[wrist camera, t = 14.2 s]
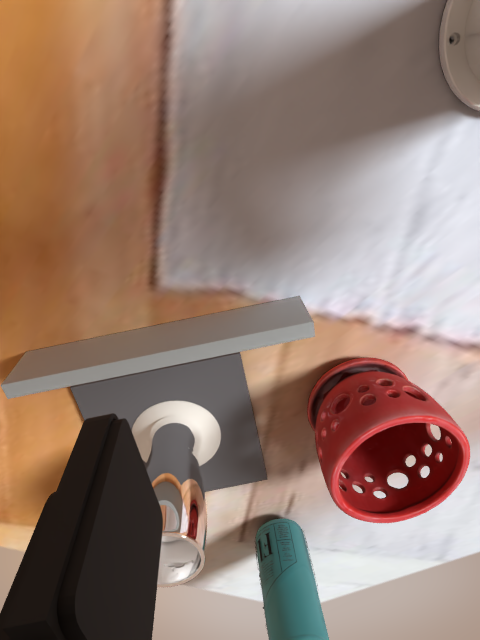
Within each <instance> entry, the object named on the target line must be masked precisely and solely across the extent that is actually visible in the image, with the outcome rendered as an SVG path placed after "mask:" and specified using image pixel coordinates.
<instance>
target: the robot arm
mask: <svg viewBox="0 0 480 640" xmlns="http://www.w3.org/2000/svg"><path fill="white" fill-rule="evenodd" d="M449 38H451V40H452V41H451V43H449ZM439 53H440V61H441V66H442V69H443V73H444V76H445V79H446V81H447V83H448V84H449V86H450V88H451V90H452V92H453V93H454V94H455V95H456V96H457V97H458V98H459V99H460V101H462V102H463V103H464V104H466V105H467V106H469V107H470V108H472V109H474V110H477V111H480V0H448V1H447V3H446V6H445V9H444V12H443V17H442V21H441V26H440V36H439ZM162 531H163V516H162V511H161V507H160V505H159V502H158V499H157V497H156V494H155V491H154V489H153V486H152V484H151V481H150V478H149V476H148V473H147V470H146V468H145V465H144V462H143V460H142V457H141V455H140V452H139V449H138V447H137V444H136V441H135V439H134V436H133V434H132V431H131V428H130V426H129V423H128V421H127V420H126V419H125V418H123V419H118V417H117V415H116V414H114V413H112V414H107V415H102V416H97V417H92V418H88V419H86V420H85V421H84V423H83V425H82V428H81V430H80V433H79V435H78V438H77V440H76V443H75V446H74V448H73V451H72V453H71V456H70V458H69V461H68V463H67V466H66V468H65V471H64V473H63V476H62V478H61V481H60V484H59V486H58V489H57V491H56V492H54V493H53V494H51V495H50V496H49V498H48V500H47V502H46V503H45V506H44V508H43V511H42V513H41V515H40V518H39V520H38V523H37V525H36V528H35V530H34V533H33V535H32V537H31V540H30V542H29V545H28V547H27V550H26V552H25V554H24V557H23V559H22V562H21V564H20V567H19V569H18V572H17V574H16V577H15V579H14V581H13V584H12V586H11V589H10V591H9V594H8V596H7V598H6V601H5V603H4V606H3V608H2V611H1V613H0V640H152V631H153V621H154V611H155V601H156V590H157V581H158V571H159V561H160V551H161V541H162Z"/></svg>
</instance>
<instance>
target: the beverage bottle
mask: <svg viewBox="0 0 480 640" xmlns="http://www.w3.org/2000/svg"><path fill="white" fill-rule="evenodd" d="M303 532H304V531H302V529H301V528H300V526H299V525H298V524H297V523H296V522H294V521H292V520H289V519H275V520H271V521H269V522H267V523H265V524H263V525H262V526H261V527H260V528H259V529H258V531H257V534H256V537H255V538H256V541H255V543H256V548H257V551H256V552H257V554H256V558H257V557H258V563H259V571H260V575H259V576H260V580H261V583H260V585H261V588H262V594H263V602H264V607H263V609H264V610H265V618H266V625H267V629H268V636H269V640H329V637H328V633H327V629H326V625H325V621H324V617H323V613H322V609H321V605H320V600H319V596H318V592H317V587H316V582H315V578H316V577H315V578H314V574H313V570H312V566H311V562H310V561H311V560H310V558H309V555H310V554H308V551H309V550H307V547H308V546H307V545H306V543H307V542H305V539H306V538H304V534H305V533H304V534H303ZM312 565H313V564H312ZM257 566H258V564H257ZM260 580H259V581H260ZM316 581H317V580H316ZM317 586H318V585H317Z"/></svg>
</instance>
